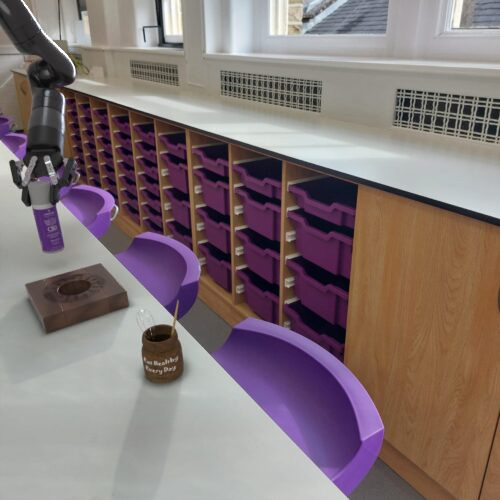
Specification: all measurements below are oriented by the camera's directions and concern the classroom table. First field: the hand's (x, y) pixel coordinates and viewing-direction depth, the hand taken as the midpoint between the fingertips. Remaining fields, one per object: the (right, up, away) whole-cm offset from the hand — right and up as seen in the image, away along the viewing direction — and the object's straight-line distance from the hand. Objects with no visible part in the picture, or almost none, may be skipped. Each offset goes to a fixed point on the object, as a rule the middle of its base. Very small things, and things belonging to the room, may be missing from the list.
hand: (40, 204), depth 100 cm
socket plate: (+10, -20, -7) cm, 23 cm away
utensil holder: (+31, -28, -27) cm, 49 cm away
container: (0, -9, +7) cm, 11 cm away
